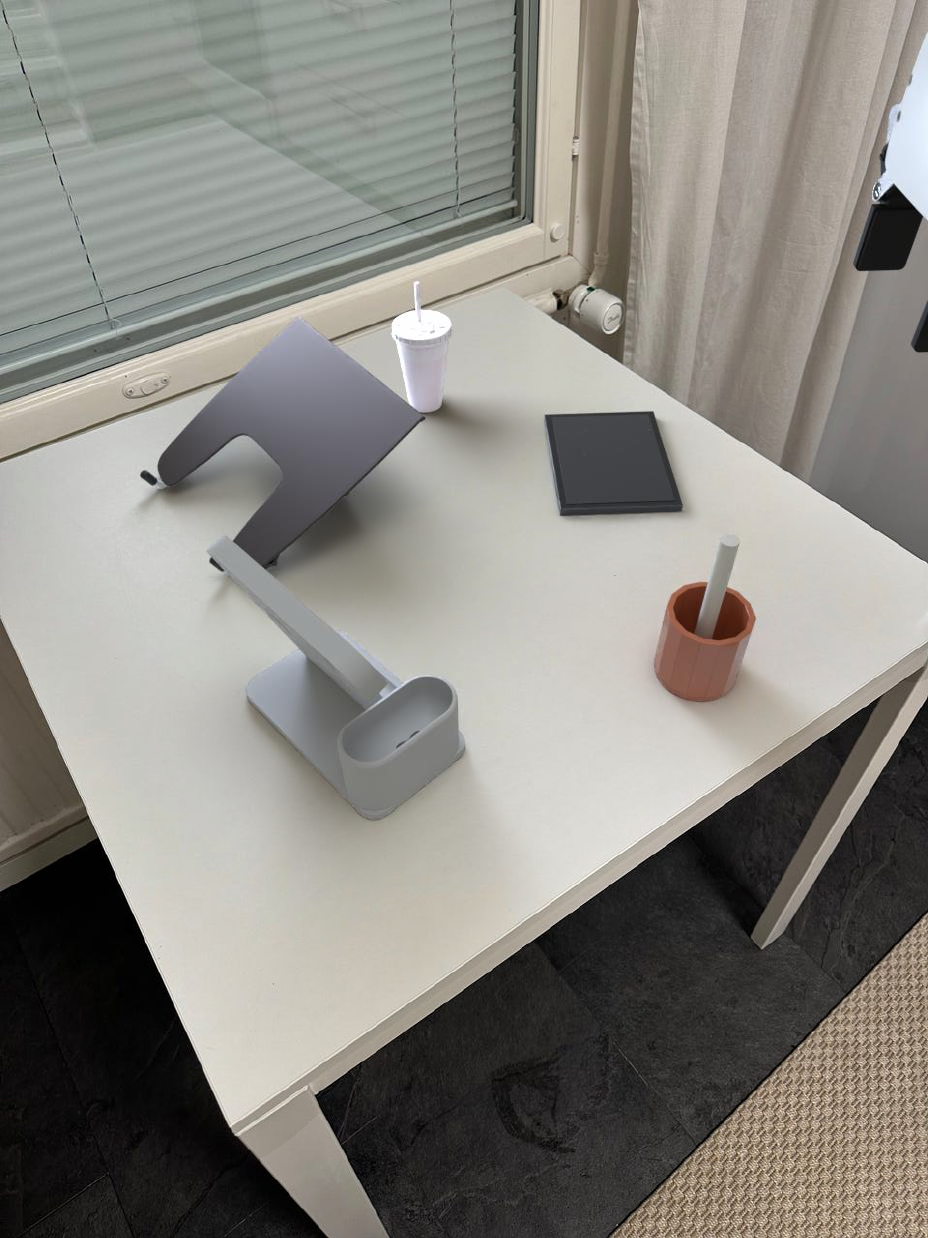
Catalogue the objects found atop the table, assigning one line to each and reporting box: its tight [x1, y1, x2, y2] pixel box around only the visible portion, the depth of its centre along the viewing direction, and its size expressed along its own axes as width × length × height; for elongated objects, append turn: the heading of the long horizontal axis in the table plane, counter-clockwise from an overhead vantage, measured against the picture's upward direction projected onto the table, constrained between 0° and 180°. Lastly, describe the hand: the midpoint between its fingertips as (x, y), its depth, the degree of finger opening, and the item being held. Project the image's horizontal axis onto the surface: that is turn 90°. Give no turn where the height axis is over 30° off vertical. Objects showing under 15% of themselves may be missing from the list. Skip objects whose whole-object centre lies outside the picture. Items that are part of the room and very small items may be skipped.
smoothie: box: [391, 281, 453, 414], centre depth 95 cm, size 6×6×14 cm
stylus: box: [694, 533, 741, 639], centre depth 68 cm, size 1×1×14 cm
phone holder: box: [206, 533, 466, 821], centre depth 64 cm, size 17×10×18 cm, turn 43°
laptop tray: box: [139, 316, 426, 575], centre depth 88 cm, size 23×23×9 cm
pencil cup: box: [654, 581, 757, 702], centre depth 71 cm, size 7×7×7 cm
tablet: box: [543, 410, 684, 516], centre depth 92 cm, size 12×16×1 cm
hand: (906, 306), depth 54 cm, fingers open, 9 cm apart
